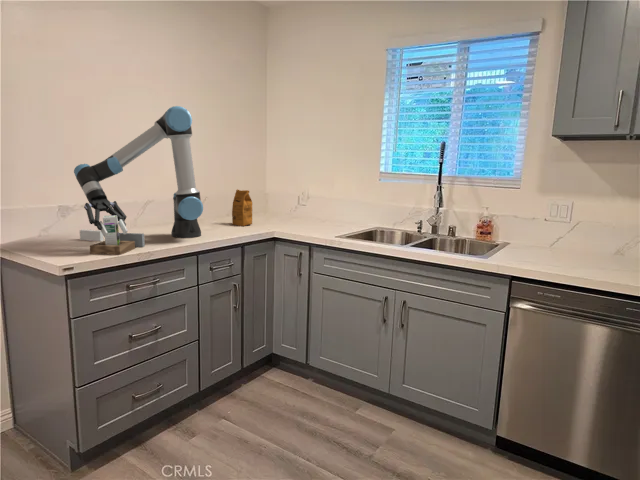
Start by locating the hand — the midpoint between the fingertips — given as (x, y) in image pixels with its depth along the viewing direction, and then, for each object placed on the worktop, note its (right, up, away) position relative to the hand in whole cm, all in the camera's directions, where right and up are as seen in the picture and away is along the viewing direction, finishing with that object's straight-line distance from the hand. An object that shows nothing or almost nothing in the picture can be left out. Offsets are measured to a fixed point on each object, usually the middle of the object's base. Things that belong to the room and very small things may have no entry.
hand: (116, 233), depth 189 cm
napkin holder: (-25, -3, +29) cm, 38 cm away
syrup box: (-3, -7, +3) cm, 8 cm away
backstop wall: (-2, -6, +15) cm, 16 cm away
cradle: (-3, -8, +3) cm, 9 cm away
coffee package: (+39, +6, +87) cm, 96 cm away
